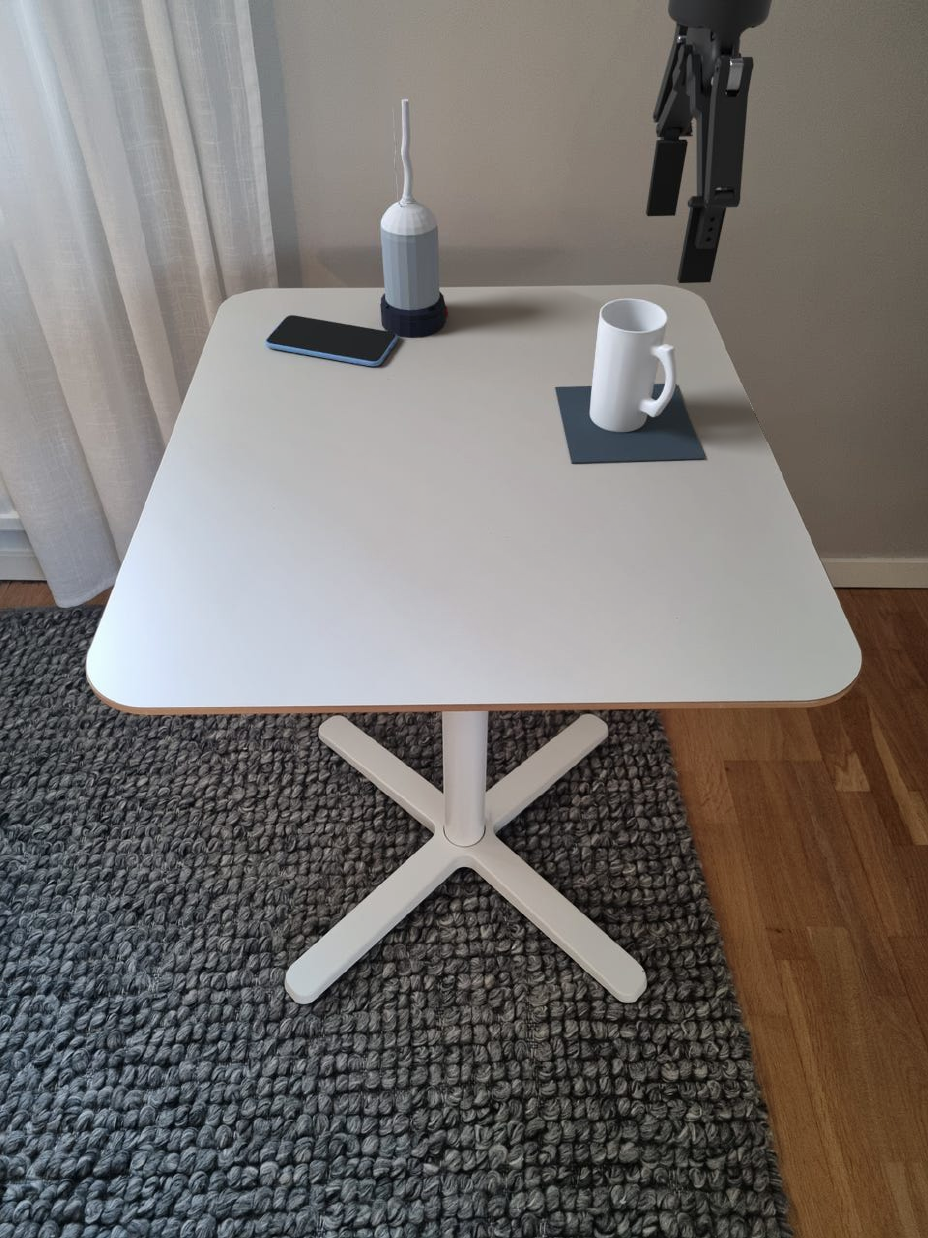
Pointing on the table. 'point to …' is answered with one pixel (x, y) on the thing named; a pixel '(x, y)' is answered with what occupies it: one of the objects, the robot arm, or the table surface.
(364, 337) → the smartphone
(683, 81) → the robot arm
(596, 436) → the mat
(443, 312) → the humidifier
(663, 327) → the mug
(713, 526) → the table surface
